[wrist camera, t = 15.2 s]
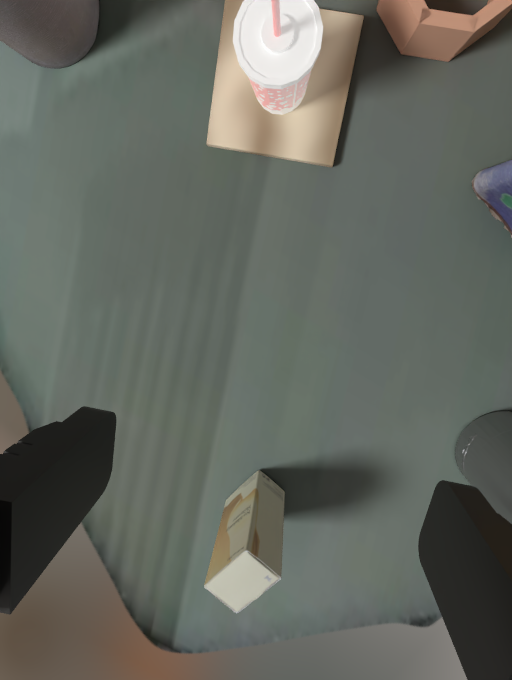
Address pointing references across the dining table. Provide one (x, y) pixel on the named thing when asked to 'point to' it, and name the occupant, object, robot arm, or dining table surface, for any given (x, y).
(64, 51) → the pillar candle
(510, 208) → the flask
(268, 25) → the beverage cup
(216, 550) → the skincare box
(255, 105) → the wooden coaster
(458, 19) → the ceramic ring
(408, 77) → the dining table surface
